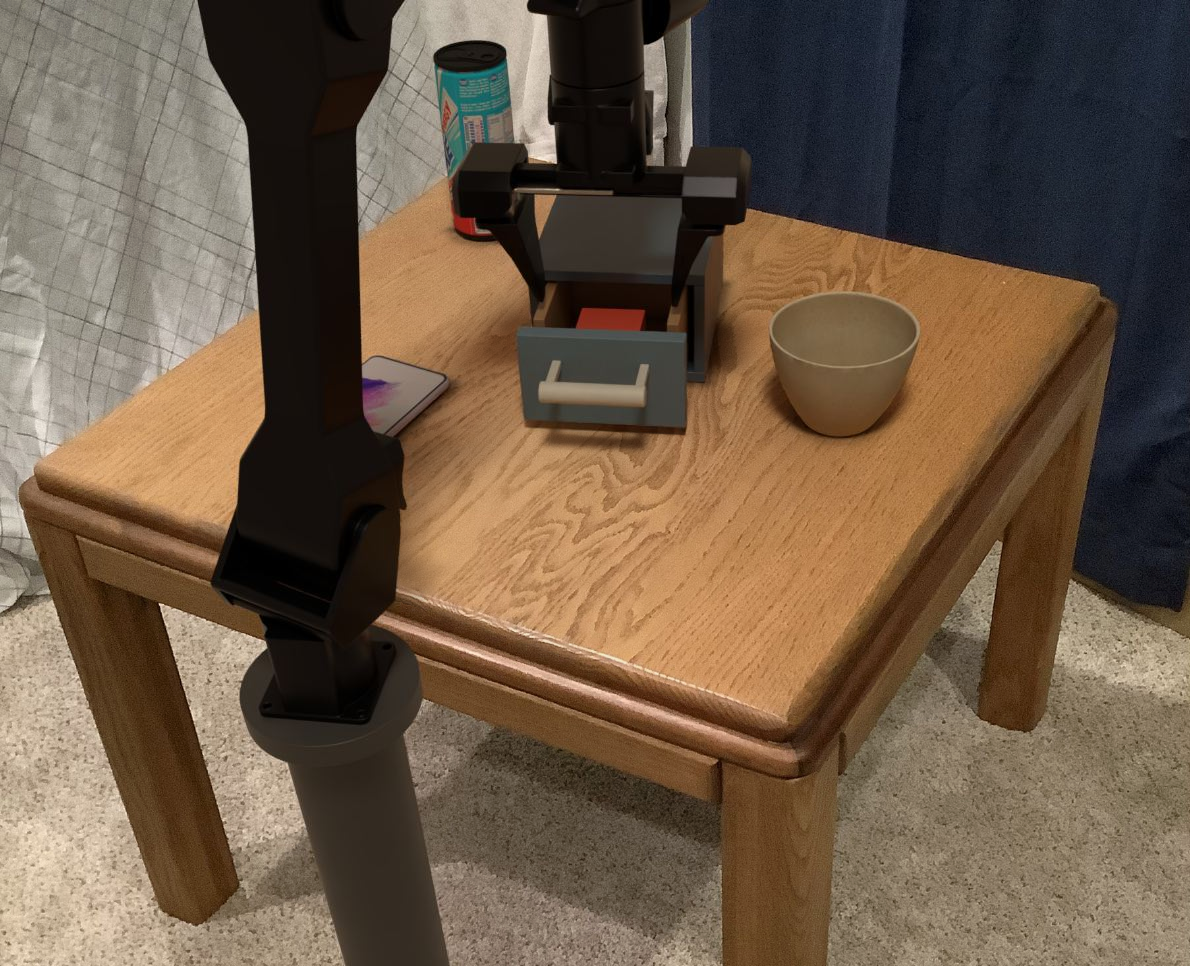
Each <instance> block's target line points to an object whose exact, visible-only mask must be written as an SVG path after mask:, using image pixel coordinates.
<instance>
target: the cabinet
mask: <svg viewBox="0 0 1190 966" xmlns="http://www.w3.org/2000/svg"><path fill="white" fill-rule="evenodd" d="M681 214H682V198H647V197H607V196H567V195H555V198H554V200H553V203H552V206H551V208H550V209H549V213H548V215H547V218H546V221H545V223H544V226H543V229H542V231H541V233H540V235H539V243H540V249H541V255H542V261H543V267H544V273H545V286H546V284H547V281H548V280H549V281H580V282H610V283H640V284H670V285H671V284H672V275H673V266H674V257H675V248H676V240H677V231H678V226H679V222H680V218H681ZM685 285H694V335H693V339H692V344H691V349H690V354H689V359H688V364H687V383H689V382H692V383H705V382H706V378H707V372H708V367H709V360H710V355H711V349H712V345H713V340H714V334H715V330H716V323H717V319H718V312H719V308H720V301H721V297H722V291H723V285H724V233H723V234H722V235H720V236H710V237H708V238H707V239H706V241H705V243H704V245H703V247H702V248H701V250H700V252H699V254H698V256H697V257H696V259H695V261H694V263H693V265H692V268H691V270H690V273H689V276H688V279H687V282H686V284H685ZM527 290H528V300H529V311H530V312H529V313H530V322H531V323H530V324H531V327H534V323H533V319H534V316H535V313H536V311H537V308H538V305H539V303H540V302H537V301H536V299H535V297H534V296H533V294H532V292H531V290H530V289H529V287H528V286H527Z"/></svg>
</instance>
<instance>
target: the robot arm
mask: <svg viewBox="0 0 1190 966" xmlns="http://www.w3.org/2000/svg"><path fill="white" fill-rule="evenodd" d="M405 1H406V0H196V2H197V6H198V7H197V8H198V12H199V16H200V21H201V27H202V31H203V32H202V33H203V36H204V42H205V47H206V52H207V57H208V60H209V62H210V65H211V66H212V68H213V70H214V71H215V73H216V75H217V77H218V79H219V80H220V82H221V84H222V85H223V87H224V89H225V91H226V93H227V94H228V96H229V98H230V100H231V101H232V103H233V105H234V106H235V109H236V110H237V112H238V114H239V116H240V117H241V119H242V121H243V124H244V126H245V131H246V136H247V151H248V167H249V183H250V196H251V212H252V228H253V243H254V244H253V245H254V259H255V272H256V273H255V274H256V290H257V291H256V292H257V307H258V317H259V318H258V320H259V336H260V337H259V338H260V350H261V351H260V354H261V366H262V367H261V368H262V369H261V370H262V384H263V401H264V415H263V420H262V421H261V422H260V424H259V426H258V428H257V429H256V431H255V432H254V434H253V436H252V438H251V439H250V441H249V443H248V444H247V446H246V448H245V449H244V451H243V453H242V455H241V456H240V459H239V462H238V477H237V496H236V505H235V508H234V511H233V513H232V517H231V520H230V524H229V526H228V529H227V532H226V535H225V537H224V540H223V544H222V547H221V550H220V553H219V554H218V558H217V561H216V563H215V566H214V569H213V572H212V574H211V578H210V586H211V587H210V588H212V589H213V591H214V592H215V593H216V594H217V595H218V596H219V598H220V599H221V600H222V601H223V602H224V603H225V604H228V605H231V606H237V607H239V608H242V609H245V610H247V611H250V612H253V613H255V614H257V615H258V617H259V621H260V625H261V628H262V632H263V637H264V641H265V645H266V649H268V652H269V656H270V660H271V663H272V667H273V670H274V674H273V676H272V679H271V681H270V683H269V685H268V687H267V689H266V692H265V694H264V696H263V698H262V700H261V702H260V704H259V711H260V714H261V716H263V717H266V718H278V719H290V720H303V721H315V722H327V723H339V724H351V725H365V724H367V723H368V722H370V720H371V718H372V715H373V713H374V710H375V707H376V705H377V702H378V699H379V697H380V694H381V692H382V689H383V686H384V684H385V681H386V678H387V676H388V673H389V671H390V668H391V665H392V663H393V660H394V657H395V655H396V646H395V644H394V643H393V642H388V641H374V640H372V638H371V633H370V628H369V626H370V625H373V624H374V623H375V622H376V621H377V619H379V618H380V617H382V615H383V614H384V613H385V612H386V611H388V609H389V608H390V607H391V606H392V605H393V604H394V603H395V601H396V600H397V599H396V598H397V587H398V574H399V561H400V550H401V548H400V547H401V536H402V526H401V522H402V521H401V520H402V519H401V518H402V517H401V516H402V515H401V511H406V510H407V508H408V504H407V500H406V498H405V493H404V484H403V481H404V468H405V466H404V465H405V459H406V456H405V451H404V448H403V445H402V442H401V440H400V439H399V438H397V437H395V436H394V437H391V436H388V435H385V434H381V433H378V432H375V431H373V430H372V428H371V426H370V425H369V423H368V421H367V420H366V418H365V415H364V410H363V383H362V363H363V350H362V348H363V347H362V314H361V313H362V311H361V310H362V309H361V272H360V271H361V269H360V268H361V267H360V235H359V234H360V231H359V228H360V227H359V194H358V193H359V192H358V156H357V155H358V153H357V151H358V150H357V133H358V126H359V124H360V123H361V120H362V118H363V117H364V115H365V114H366V111H367V110H368V108H369V106H370V104H371V103H372V100H373V99H374V97H375V95H376V94H377V92H378V90H379V88H380V86H381V84H383V81H384V79H385V77H386V75H387V73H388V71H389V65H390V55H391V43H392V31H393V21H394V18H395V16H396V15H397V13H398V11H399V10H400V9H401V8H402V6H403V4H404V3H405ZM709 2H710V0H527V2H526V9H527V11H528V12H529V13H530V14H535V15H541V16H546V24H547V36H548V37H547V39H548V51H549V52H548V53H549V68H550V74H549V79H548V89H547V123H548V125H550V126H553V127H554V142H555V156H556V158H555V159H556V163H551V162H550V163H549V162H547V163H545V162H530V161H529V151H528V148H527V146H526V145H525V143H524V142H515V143H481V142H474V143H473V145H472V146H471V147H470V148H469V149H468V150H467V152H466V153H465V155H464V157H463V159H462V161H461V163H460V165H459V167H458V168H457V170H456V172H455V174H454V176H453V180H452V197H453V206H454V214H456V215H457V216H459V217H460V218H475V225H476V227H477V228H478V229H481V230H488V231H490V232H491V233H492V235H493V236H494V237H495V238H496V239H495V241H497V242H498V244H499V245H500V246H501V248H502V249H503V250H504V251H505V253H506V254H507V255H508V257H509V258H510V260H512V262H513V264H514V265H515V267H516V269H517V271H518V272H519V274H520V276H521V277H522V279H523V280H524V282H525V284H526V286H527V288H528V287H529V289H530V290H531V292H532V294H533V296H534V297H535V299H536V301H537V302H543V301H544V299H545V294H546V292H545V273H544V267H543V261H542V255H541V249H540V243H539V238H540V236H539V231H538V226H537V221H536V201H535V200H536V199H535V197H536V196H556V195H567V196H607V197H647V198H682V214H681V218H680V222H679V226H678V231H677V240H676V248H675V257H674V266H673V275H672V284H671V303H672V307H678V305H679V302H680V299H681V296H682V293H683V290H684V287H685V284H686V282H687V279H688V276H689V273H690V270H691V268H692V265H693V263H694V261H695V259H696V257H697V256H698V254H699V252H700V250H701V248H702V247H703V245H704V243H705V241H706V239H707V238H708V237H710V236H720V235H722V234H723V235H724V234H725V231H726V226H737V225H739V224H742V223H745V221H746V216H747V210H748V206H749V200H750V193H751V188H752V163H753V162H752V157H751V156H750V155H749V153H748V152H747V151H746V149H745V148H744V147H737V146H736V147H734V146H731V147H730V146H729V147H728V146H690V148H689V152H688V156H687V159H686V164H685V165H684V166H683V165H653V166H647V160H646V155H649V156H650V155H651V154H652V150H653V151H654V105H655V104H654V102H655V101H654V100H655V99H654V98H655V91H654V90H653V89H646V86H645V85H646V83H645V82H646V81H645V77H646V76H645V46H648V45H651V44H653V43H656V42H658V41H659V40H661V39H662V38H663V37H665V36H666V35H668V34H669V33H671V32H672V31H674V30H675V29H677V28H678V27H680V26H681V25H682V24H684V23H685V22H687V21H688V20H689V19H691V18H692V17H694V16H696V15H697V14H699V12H701V11H702V10H703V9H704V8H706V6H707V5H708V3H709ZM387 649H389V650H387ZM267 708H270V709H267ZM360 716H363V717H360Z"/></svg>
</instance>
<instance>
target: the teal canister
mask: <svg viewBox="0 0 1190 966" xmlns="http://www.w3.org/2000/svg"><path fill="white" fill-rule="evenodd" d="M507 52H508V51H507V49H506V47H505V46H504V45H502V44H500V43H498V42H495V41H491V40H485V39H484V40H482V39H471V40H461V41H457V42H452V43H449V44H446V45H443V46H441V47H439V48H438V49H437V50H436V51H434V53H433V56H432V60H433V64H434V65H433V66H434V67H433V68H434V75H435V87H436V93H437V94H436V95H437V101H438V111H439V112H438V113H439V118H440V119H439V120H440V128H441V137H442V144H443V151H444V159H445V167H446V174H447V184H448V191H449V199H450V207H451V216H452V223H453V226H454V228H455V230H456V232H458V234H459V235H461V236H462V237H464V238H466V239H469V240H473V241H483V242H484V241H494V240H495V241H496V238H495V237H494V236H493V235H492V233H491V232H490V231H488V230H481V229H478V228H477V227H476V225H475V218H460V217H459V216H457V215H456V214H454V206H453V197H452V180H453V176H454V174H455V172H456V170H457V168H458V167H459V165H460V163H461V161H462V159H463V157H464V155H465V153H466V152H467V150H468V149H469V148H470V147H471V146H472V145H473V143H474V142H481V143H516V142H515V133H514V132H515V131H514V121H513V119H514V118H513V110H512V109H513V108H512V99H511V87H510V76H509V67H508V65H509V64H508V58H507V55H508V53H507Z"/></svg>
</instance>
